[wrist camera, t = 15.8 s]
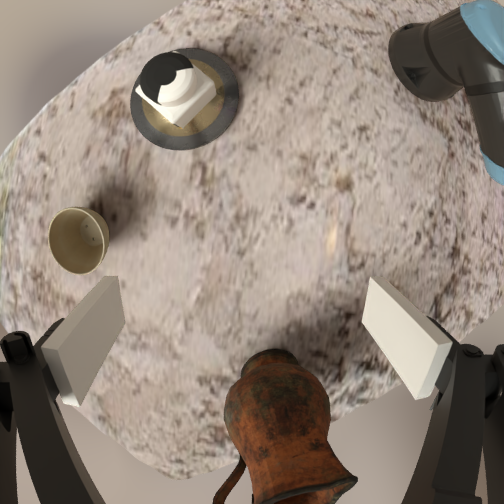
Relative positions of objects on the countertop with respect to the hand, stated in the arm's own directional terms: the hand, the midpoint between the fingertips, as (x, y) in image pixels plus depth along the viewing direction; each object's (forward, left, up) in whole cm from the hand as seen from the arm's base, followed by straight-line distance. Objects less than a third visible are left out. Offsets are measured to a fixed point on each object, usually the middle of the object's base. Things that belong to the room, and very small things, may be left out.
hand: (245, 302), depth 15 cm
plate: (+8, -16, -31) cm, 36 cm away
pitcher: (-5, +32, -31) cm, 45 cm away
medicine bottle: (+8, -16, -30) cm, 35 cm away
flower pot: (+23, +4, -31) cm, 39 cm away
